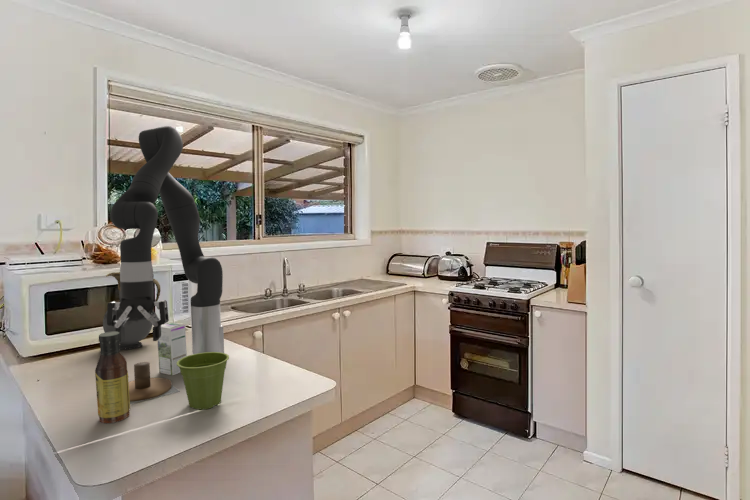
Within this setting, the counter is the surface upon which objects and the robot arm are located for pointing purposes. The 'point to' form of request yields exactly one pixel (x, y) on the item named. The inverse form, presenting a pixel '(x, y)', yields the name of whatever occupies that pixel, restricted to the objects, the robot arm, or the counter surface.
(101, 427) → the counter surface
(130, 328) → the pitcher
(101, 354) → the sauce bottle
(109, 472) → the counter surface
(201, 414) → the counter surface
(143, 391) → the walnut lid
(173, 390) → the rubber mat
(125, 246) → the robot arm
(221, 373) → the plant pot
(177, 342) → the syrup box
